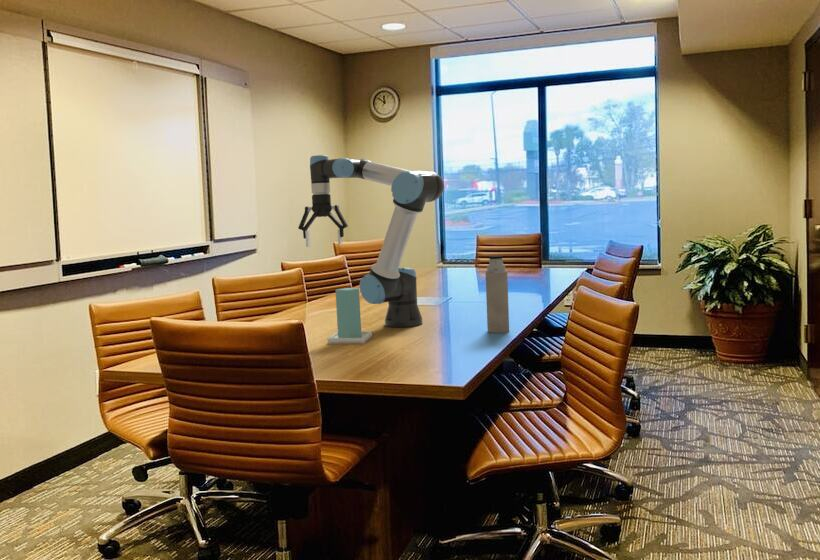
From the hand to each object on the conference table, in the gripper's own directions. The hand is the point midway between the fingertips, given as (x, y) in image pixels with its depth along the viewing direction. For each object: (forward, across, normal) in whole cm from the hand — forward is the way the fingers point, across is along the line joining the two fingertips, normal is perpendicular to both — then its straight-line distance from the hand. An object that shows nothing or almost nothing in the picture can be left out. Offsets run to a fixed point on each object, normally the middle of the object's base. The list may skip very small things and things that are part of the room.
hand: (324, 246), depth 305 cm
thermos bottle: (+33, -71, +21) cm, 81 cm away
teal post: (+32, -18, +35) cm, 51 cm away
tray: (+33, -18, +35) cm, 51 cm away
